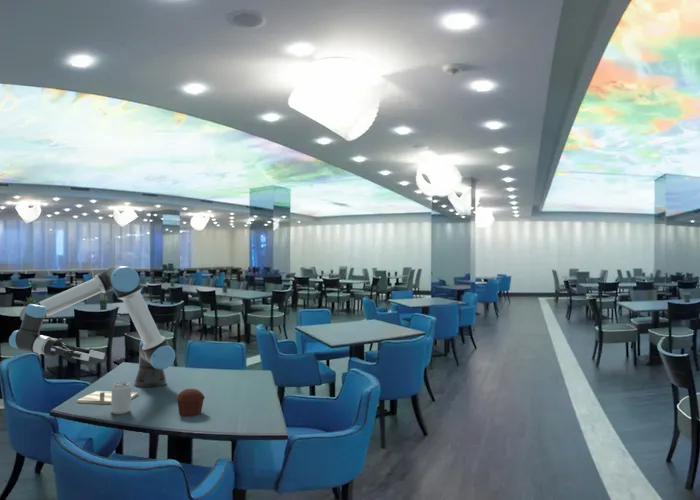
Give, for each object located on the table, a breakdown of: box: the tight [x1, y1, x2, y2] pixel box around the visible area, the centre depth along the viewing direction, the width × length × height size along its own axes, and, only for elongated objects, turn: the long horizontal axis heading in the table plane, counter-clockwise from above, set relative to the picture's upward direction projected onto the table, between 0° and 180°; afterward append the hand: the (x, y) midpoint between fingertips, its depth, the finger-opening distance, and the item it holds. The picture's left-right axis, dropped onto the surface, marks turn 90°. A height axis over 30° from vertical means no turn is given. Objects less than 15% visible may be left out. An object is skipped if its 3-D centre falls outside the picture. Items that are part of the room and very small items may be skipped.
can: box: [110, 381, 132, 415], centre depth 214 cm, size 8×8×12 cm
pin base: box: [76, 390, 139, 405], centre depth 233 cm, size 16×20×4 cm
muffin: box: [175, 388, 205, 418], centre depth 215 cm, size 12×11×10 cm
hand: (96, 356), depth 218 cm, fingers open, 13 cm apart
